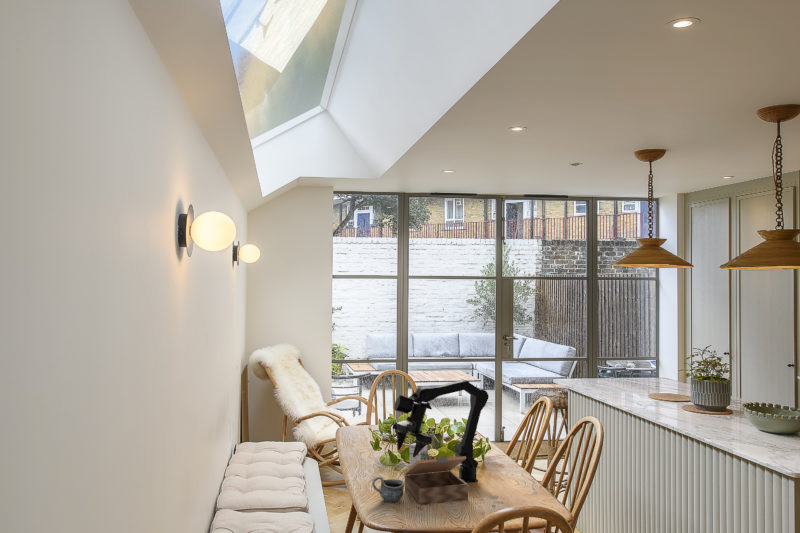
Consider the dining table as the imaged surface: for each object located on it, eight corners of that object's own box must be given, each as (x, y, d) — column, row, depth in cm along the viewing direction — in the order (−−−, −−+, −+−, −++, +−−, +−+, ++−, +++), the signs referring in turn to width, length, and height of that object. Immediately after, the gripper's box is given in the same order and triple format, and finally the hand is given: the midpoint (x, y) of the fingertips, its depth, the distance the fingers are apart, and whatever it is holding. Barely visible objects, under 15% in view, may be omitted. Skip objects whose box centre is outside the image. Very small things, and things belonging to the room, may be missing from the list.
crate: (450, 485, 256) (450, 470, 256) (468, 499, 238) (468, 484, 239) (404, 490, 249) (404, 475, 250) (419, 505, 232) (419, 489, 232)
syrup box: (420, 480, 262) (420, 446, 262) (409, 477, 266) (409, 444, 266) (427, 477, 267) (427, 443, 267) (416, 474, 270) (416, 441, 271)
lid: (451, 472, 255) (450, 467, 256) (467, 460, 240) (466, 455, 241) (404, 477, 249) (403, 472, 250) (418, 464, 234) (417, 459, 235)
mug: (408, 503, 235) (408, 476, 235) (378, 508, 230) (378, 481, 230) (397, 495, 244) (397, 469, 244) (368, 499, 238) (368, 473, 239)
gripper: (389, 407, 259) (378, 443, 257) (420, 421, 245) (408, 459, 243) (406, 410, 266) (396, 446, 265) (437, 424, 253) (426, 461, 251)
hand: (406, 453), depth 256 cm, fingers open, 9 cm apart
